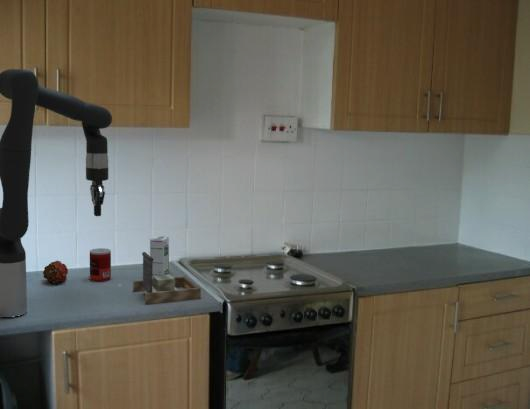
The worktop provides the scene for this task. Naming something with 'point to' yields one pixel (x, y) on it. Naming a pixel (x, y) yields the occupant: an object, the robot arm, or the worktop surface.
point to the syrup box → (160, 255)
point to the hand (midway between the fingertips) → (97, 215)
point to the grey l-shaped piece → (155, 278)
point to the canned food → (100, 264)
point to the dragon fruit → (55, 272)
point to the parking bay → (171, 291)
